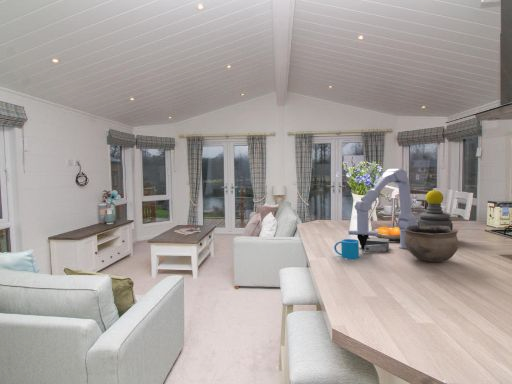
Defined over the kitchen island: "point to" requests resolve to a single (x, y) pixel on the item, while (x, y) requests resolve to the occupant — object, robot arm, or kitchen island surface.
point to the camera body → (377, 241)
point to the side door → (376, 248)
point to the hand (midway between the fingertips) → (363, 248)
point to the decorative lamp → (435, 212)
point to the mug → (349, 248)
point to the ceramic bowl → (431, 242)
